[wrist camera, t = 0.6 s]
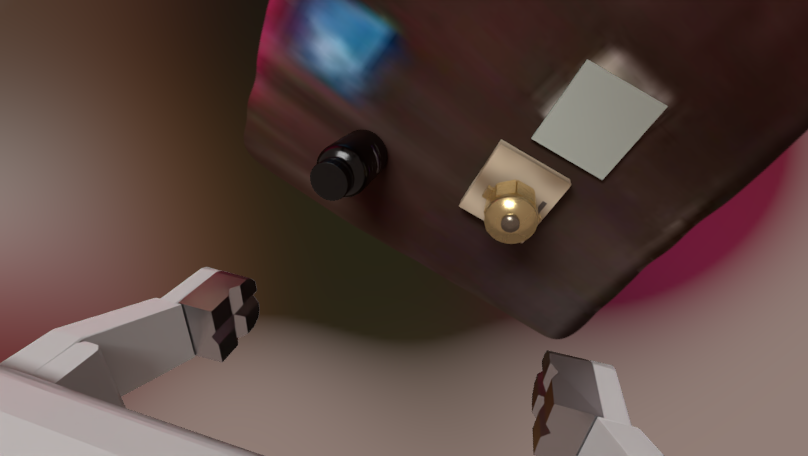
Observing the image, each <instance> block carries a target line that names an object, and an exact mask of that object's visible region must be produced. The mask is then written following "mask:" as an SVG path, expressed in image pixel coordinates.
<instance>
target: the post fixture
mask: <svg viewBox="0 0 808 456" xmlns="http://www.w3.org/2000/svg"><path fill="white" fill-rule="evenodd" d="M515 179H516V181H517V180H519V181H521V182H523V183H525V184H526V185H528V186H530V187H531V188H533V189H534V190H535V195H536V200H537V206H538V214H540V215H541V220H540V221H539V222H538V224H539V223H540V222H541V221H542V220H543V218H544V217H545V216H546V215H547V214H548V212H549V211H550V210H551V209H552V208H553V207H554V205H555V204H556V203H557V202H558V201H559V199H560V198H561V197H562V196H563V195H564V193H565V192H566V191H567V190H568V189H569V187H570V186H571V182H570V179H569V178H567V177H565V176H563V175H562V174H560V173H558V172H557V171H555V170H553V169H551V168H550V167H548V166H546V165H545V164H543V163H541V162H539V161H538V160H536V159H534V158H533V157H531V156H529V155H527V154H526V153H524V152H522V151H521V150H519V149H517V148H515V147H514V146H512V145H510V144H509V143H507V142H505V141H503V140H502V139H501V140H500V142H499V143H498V145H497V146H496V148H495V149H494V151H493V152H492V154H491V155H490V157H489V158H488V160H487V161H486V163H485V165H484V166H483V168H482V169H481V171H480V172H479V174H478V175H477V177H476V178H475V180H474V181H473V183H472V184H471V186H470V187H469V189H468V190H467V192H466V193H465V195H464V196H463V198H462V199H461V201H460V204H459V207H461V208H463V209H464V210H466V211H468V212H470V213H471V214H473V215H475V216H476V217H478V218H480V219H482V220H483V221H484V217H485V216H484V208H485V203H486V199H485V198H483V197H482V194H483V192H484V191H485V189H486V188H487V186H488V185H490V186H492V187H495V185H496V184H498V183H500V182H505V181H510V180H515ZM538 224H537V226H538ZM523 242H524V241H523ZM523 242H521V243H523Z"/></svg>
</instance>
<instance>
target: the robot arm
mask: <svg viewBox="0 0 808 456" xmlns="http://www.w3.org/2000/svg"><path fill="white" fill-rule="evenodd" d="M256 291H257V288H256V283H255V281H254V280H253V279H251V278H247V277H243V276H240V275H236V274H233V273H228V272H225V271H220V270H216V269H213V268H209V267H205V268H201V269H200V270H199V271H197V272H196V273H194V274H193V275H192V276H190V277H189V278H188V279H186V280H185V281H184V282H182V283H181V284H180V285H178V286H177V287H176V288H174V289H173V290H172V291H170V292H169V293H168V294H166V295H165V296H164V297H162V298H161V299H159V298H154V299H150V300H147V301H144V302H140V303H137V304H134V305H131V306H127V307H124V308H121V309H118V310H115V311H111V312H108V313H105V314H102V315H98V316H95V317H92V318H88V319H85V320H82V321H79V322H75V323H72V324H69V325H66V326H63V327H59V328H56V329H53V330H51V331H50V332H48V333H47V334H45V335H44V336H42V337H41V338H39V339H37V340H36V341H34V342H33V343H31V344H30V345H28V346H27V347H25V348H24V349H22V350H20V351H19V352H17V353H16V354H14V355H13V356H11V357H9V358H8V359H6V360H5V361H3V362H2V363H0V456H264V455H260V454H257V453H255V452H252V451H249V450H246V449H243V448H240V447H237V446H234V445H231V444H228V443H226V442H223V441H220V440H216V439H214V438H211V437H208V436H205V435H202V434H199V433H197V432H194V431H191V430H188V429H185V428H182V427H179V426H176V425H173V424H170V423H167V422H165V421H162V420H159V419H156V418H153V417H150V416H147V415H144V414H141V413H138V412H135V411H132V410H129V409H127V408H126V407H125V405H124V403H123V400H122V398H121V396H123V395H125V394H127V393H129V392H131V391H133V390H134V389H136V388H138V387H140V386H142V385H144V384H146V383H147V382H149V381H151V380H153V379H155V378H157V377H159V376H160V375H162V374H164V373H166V372H168V371H170V370H172V369H173V368H175V367H177V366H179V365H181V364H183V363H185V362H186V361H188V360H190V359H192V358H194V357H195V355H196V356H200V357H204V358H208V359H211V360H215V361H219V362H223V361H224V360H225V359H226V358H227V357H228V356H229V354H230V353H231V352H232V351H233V350H234V349H235V348H236V347H237V346H238V338H239V337H242V336H244V335H246V334H248V333H249V332H250V331H251V330H252V328H253V327H254V326H255V324H256V321H257V319H258V317H259V302H258V301H257V300H256V298H255V297H254V296H253V295H254V293H255V292H256ZM532 413H533V414H534V416H535V417H536V421H535V423H534V426H533V452H534V455H536V456H664V455H663V454H662V453H661V452H660V450H659V449H658V448H657V447H656V446H655V445H654V444H653V443H652V442H651V441H650V439H649V438H648V437H647V436H646V435H645V434H644V433H643V432H642V431H641V430H640V429H639V428H637V427H634V426H632V425H631V421H630V418H629V414H628V411H627V408H626V404H625V401H624V397H623V394H622V390H621V387H620V384H619V380H618V376H617V373H616V370H615V368H614V367H613V366H612V365H609V364H604V363H600V362H596V361H591V360H590V361H589V360H586V359H582V358H577V357H573V356H569V355H564V354H560V353H556V352H552V351H546V353H545V354H544V357H543V359H542V372H540V373H538V374H537V377H536V380H535V383H534V388H533V393H532Z"/></svg>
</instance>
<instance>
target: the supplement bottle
mask: <svg viewBox="0 0 808 456" xmlns="http://www.w3.org/2000/svg"><path fill="white" fill-rule="evenodd" d="M386 162H387V150H386V147H385V145H384V143H383V141H382V140H381V139H380V138H379V137H378V136H377V135H376V134H375V133H373V132H371V131H368V130H356V131H353V132H351V133H349V134H348V135H346V136H344V137H343V138H341V139H339V140H338V141H336V142H334V143H333V144H331V145H329V146H328V147H326V148H325V149H324V150H323V151H322V152H321V153H320V155H319V157H318V159H317V164H316V165H315V166H314V168H313V169H312V172H311V175H310V181H311V185H312V187H313V189H314V191H315V192H316V193H317V194H318V195H319V196H320V197H322V198H323V199H326V200H330V201H332V200H333V201H335V200H339V199H341V198H342V197H352V196H355V195H357V194H359V193H360V192H361V191H362V190H363V189H364V188H365V187H366V186H367V185H368V184H369V183H370V182H371V181H372V180H373V179H374V178H375V177H376V176H377V175H378V174H379V173H380V172H381V171H382V170H383V169H384V167H385V165H386Z"/></svg>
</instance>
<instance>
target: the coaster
mask: <svg viewBox="0 0 808 456" xmlns="http://www.w3.org/2000/svg"><path fill="white" fill-rule="evenodd" d="M667 107H668V106H667V105H665V104H663V103H662V102H660V101H658V100H656V99H655V98H653V97H651V96H650V95H648V94H646V93H644V92H643V91H641V90H639V89H638V88H636V87H634V86H632V85H631V84H629V83H627V82H626V81H624V80H622V79H621V78H619V77H617V76H615V75H614V74H612V73H610V72H609V71H607V70H605V69H603V68H602V67H600V66H598V65H597V64H595V63H593V62H591V61H590V60H588V59H587V60H586V61H585V63H584V64H583V65H582V67H581V68H580V70H579V71H578V72H577V74H576V75H575V77H574V78H573V80H572V81H571V82H570V84H569V85H568V87H567V88H566V89H565V91H564V92H563V94H562V95H561V97H560V98H559V99H558V101H557V102H556V104H555V105H554V106H553V108H552V109H551V111H550V112H549V113H548V115H547V116H546V118H545V119H544V121H543V122H542V123H541V125H540V126H539V128H538V129H537V130H536V132H535V133H534V135H533V136H532V137H531V139H532V140H534V141H536V142H538V143H539V144H541V145H543V146H544V147H546V148H548V149H550V150H551V151H553V152H555V153H556V154H558V155H560V156H562V157H563V158H565V159H567V160H568V161H570V162H572V163H574V164H575V165H577V166H579V167H580V168H582V169H584V170H586V171H587V172H589V173H591V174H592V175H594V176H596V177H598V178H599V179H601V180H603V179H604V178H605V177H606V176H607V175H608V173H609V172H610V171H611V170H612V169H613V168H614V167H615V166H616V164H617V163H618V162H619V161H620V160H621V159H622V158H623V157H624V155H625V154H626V153H627V152H628V151H629V150H630V149H631V147H632V146H633V145H634V144H635V143H636V142H637V141H638V140H639V138H640V137H641V136H642V135H643V134H644V133H645V132H646V131H647V129H648V128H649V127H650V126H651V125H652V124H653V123H654V122H655V120H656V119H657V118H658V117H659V116H660V115H661V114H662V113H663V111H664V110H665V109H666V108H667Z"/></svg>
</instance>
